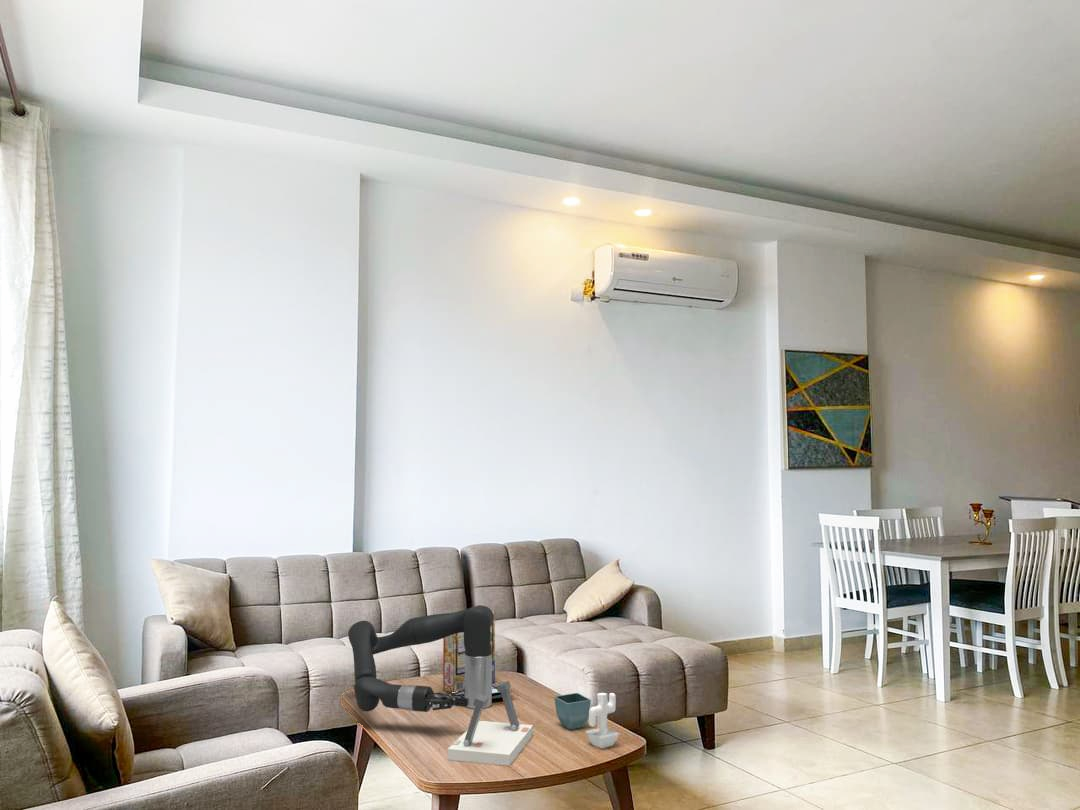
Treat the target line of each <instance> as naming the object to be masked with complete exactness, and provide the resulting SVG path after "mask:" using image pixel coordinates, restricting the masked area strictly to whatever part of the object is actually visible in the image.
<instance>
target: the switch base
mask: <svg viewBox="0 0 1080 810" xmlns="http://www.w3.org/2000/svg"><path fill="white" fill-rule="evenodd" d="M467 731H468V729H467V730H465V732H464V733H463V734H461V736H460V737H459V738H457V739H456V740H454V741H453V742H452V743H451V745H450V746H449V747H448V748H447V760H448V761H453V762H454V761H455V762H464V763H465V762H467V763H476V764H484V765H485V764H486V765H494V766H507V767H509V766H511V764H512V763H513V762H514V761H515V760H516V758H517V757H518V755H519V754H520V753H521V751H522V750H523V749H524V748H525V746H526V745H527V744H528V743H529V741H530V740H531V739H532V738H533V737H534V725H533V724H522V723H519V727H518V728H517V729H516V730H515V731H512V730H511V725H510V722H499V721H498V722H497V721H489V720H488V721H487V720H486V721H485V720H479V722H478V725H477V728H476V731H475V734H474V737H473V741H472V742H471V743H470V745H468V746H464V744H463V742H464V740H465V737H466V734H467Z"/></svg>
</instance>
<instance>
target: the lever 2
mask: <svg viewBox="0 0 1080 810" xmlns="http://www.w3.org/2000/svg"><path fill="white" fill-rule="evenodd" d="M510 689H511V682H510V679H509V680H506V681H503V682H499V683H498V684H497V685H496V690H497V693H498V694H500V695H501V697H502V700H503V705H504V708H505V711H506V715H507V718H508V719H507V720H508V723H510V725H511V730H512V731H515V730H516V729H517V728H518V727H519V724H520V722H519V720H518V716H517V712H516V710H515V709H516V708H515V706H514V702H513V700H512V699H513V698H512V695H511V692H510Z"/></svg>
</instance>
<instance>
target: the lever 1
mask: <svg viewBox="0 0 1080 810" xmlns="http://www.w3.org/2000/svg"><path fill="white" fill-rule="evenodd" d="M488 699H489V697H486V696H484V695H482V694H479V695H478V696H477V697H476V698H475V700H474V703H473V705H475V709H474V708H473V713H472V716H471V719H470V721H469V724H468V728H467V730H468V731H467V730H466V731H467V734H466V737H465V740H464V742H463V744H464V746H468V745H470V743H471V742H472V741H473V737H474V734H475V731H476V728H477V725H478V722H479V721H480V718H481V715H482V711H483V709H484V708H483V707H484V706H485V705H486V704H487V702H488Z"/></svg>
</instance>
